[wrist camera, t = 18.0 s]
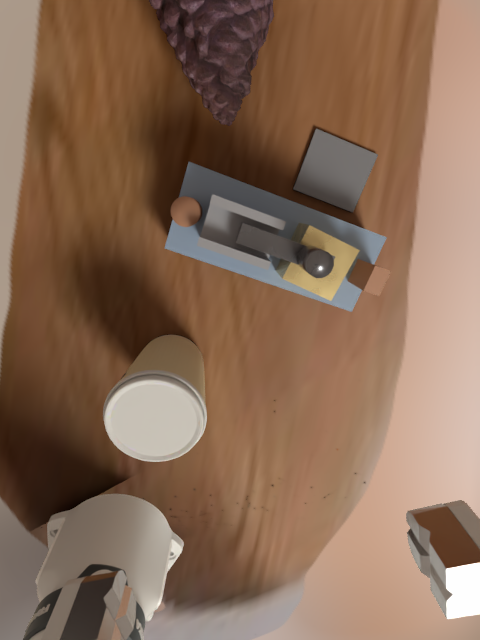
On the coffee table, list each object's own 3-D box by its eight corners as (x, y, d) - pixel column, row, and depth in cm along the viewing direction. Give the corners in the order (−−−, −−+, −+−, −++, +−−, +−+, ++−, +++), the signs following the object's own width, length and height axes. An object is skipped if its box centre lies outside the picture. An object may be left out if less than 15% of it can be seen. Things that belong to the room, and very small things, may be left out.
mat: (351, 212, 37) (352, 212, 36) (292, 189, 36) (293, 189, 35) (376, 155, 35) (377, 154, 35) (315, 129, 34) (316, 128, 34)
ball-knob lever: (322, 274, 29) (339, 286, 25) (234, 243, 28) (237, 250, 24) (332, 252, 28) (350, 260, 24) (242, 219, 27) (246, 222, 23)
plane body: (336, 299, 40) (376, 331, 30) (171, 242, 37) (152, 257, 26) (365, 233, 38) (420, 244, 27) (193, 167, 34) (181, 151, 24)
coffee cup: (123, 336, 40) (84, 389, 29) (200, 320, 40) (191, 365, 28) (146, 403, 43) (120, 474, 32) (218, 387, 43) (216, 453, 32)
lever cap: (319, 290, 34) (331, 301, 30) (275, 270, 33) (282, 278, 30) (343, 245, 33) (359, 250, 29) (299, 222, 32) (309, 225, 28)
